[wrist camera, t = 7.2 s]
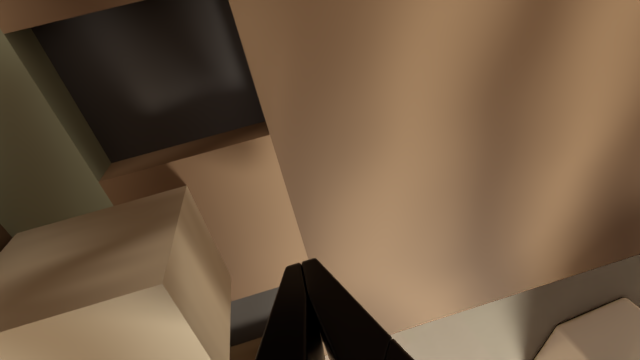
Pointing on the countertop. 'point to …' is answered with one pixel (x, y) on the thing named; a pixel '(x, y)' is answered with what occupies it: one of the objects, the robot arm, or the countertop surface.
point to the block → (117, 286)
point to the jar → (597, 335)
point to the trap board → (338, 138)
